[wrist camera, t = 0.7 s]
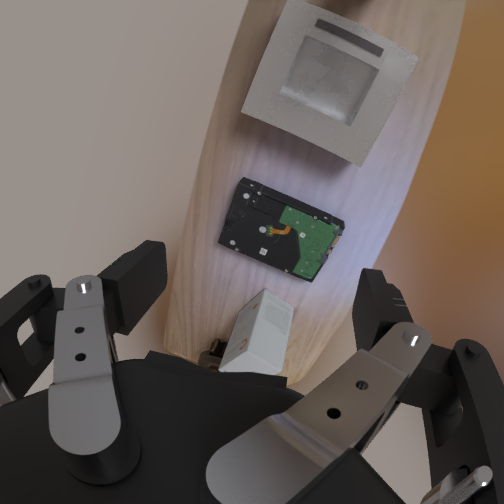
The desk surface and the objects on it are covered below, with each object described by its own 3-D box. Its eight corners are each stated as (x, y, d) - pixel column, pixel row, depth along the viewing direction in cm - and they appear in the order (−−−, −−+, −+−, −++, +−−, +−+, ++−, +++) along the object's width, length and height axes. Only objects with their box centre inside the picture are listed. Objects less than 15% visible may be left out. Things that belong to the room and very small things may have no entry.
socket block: (250, 106, 34) (240, 112, 30) (294, 3, 26) (288, -5, 22) (357, 155, 35) (360, 168, 31) (408, 57, 26) (419, 57, 22)
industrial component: (237, 362, 64) (221, 409, 55) (205, 352, 65) (186, 397, 55) (243, 336, 59) (226, 388, 49) (207, 326, 59) (185, 375, 50)
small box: (267, 329, 56) (250, 389, 45) (238, 310, 55) (216, 370, 44) (295, 307, 51) (282, 372, 41) (265, 286, 50) (245, 350, 39)
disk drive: (223, 234, 47) (314, 272, 47) (217, 244, 44) (312, 284, 44) (243, 174, 40) (346, 218, 40) (237, 182, 38) (346, 229, 38)
